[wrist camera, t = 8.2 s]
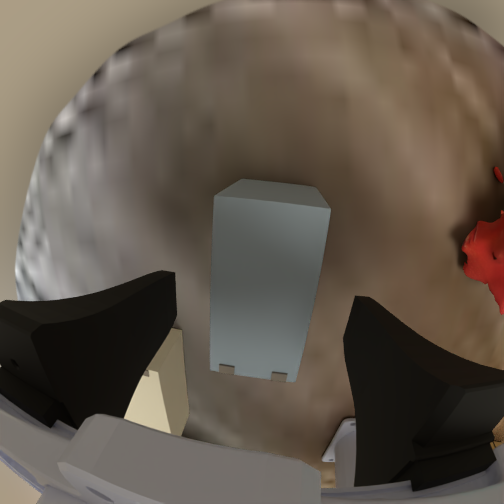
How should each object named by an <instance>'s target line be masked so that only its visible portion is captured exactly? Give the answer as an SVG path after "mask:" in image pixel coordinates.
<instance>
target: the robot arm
mask: <svg viewBox="0 0 504 504" xmlns="http://www.w3.org/2000/svg"><path fill="white" fill-rule="evenodd" d="M176 316H177V305H176V281H175V272H169V271H163V270H161V271H157V272H153V273H150V274H147V275H145V276H142V277H139V278H137V279H134V280H132V281H129V282H126V283H124V284H121V285H118V286H115V287H112V288H109V289H106V290H103V291H100V292H96V293H92V294H88V295H84V296H79V297H73V298H67V299H60V300H50V301H12V300H5V301H2V302H0V365H1V367H0V460H1V461H2V462H3V463H4V464H5V465H7V466H8V467H9V468H10V469H11V470H12V471H13V472H15V473H16V474H17V475H18V476H19V477H21V478H22V479H23V480H24V481H26V482H27V483H28V484H29V485H31V486H32V487H33V488H35V489H36V490H37V491H39V492H40V493H41V494H42V495H41V497H40V498H39V500H38V502H37V503H36V504H504V443H503V444H501V445H499V446H497V447H496V448H494V449H492V447H491V444H490V443H491V442H493V440H494V438H495V437H494V435H493V432H492V430H493V429H494V428H495V426H496V425H497V424H498V423H499V422H500V420H501V419H502V418H503V417H504V370H500V369H496V368H492V367H488V366H484V365H480V364H478V363H475V362H472V361H469V360H466V359H464V358H461V357H459V356H457V355H455V354H453V353H450V352H448V351H446V350H444V349H442V348H440V347H439V346H437V345H435V344H433V343H432V342H430V341H428V340H427V339H425V338H423V337H422V336H420V335H419V334H417V333H416V332H415V331H413V330H412V329H411V328H409V327H408V326H406V325H405V324H404V323H403V322H401V321H400V320H399V319H397V318H396V317H395V316H394V315H393V314H391V313H390V312H389V311H388V310H386V309H385V308H384V307H383V306H381V305H380V304H379V303H378V302H376V301H375V300H374V299H372V298H370V297H365V296H355V298H354V302H353V305H352V309H351V313H350V316H349V320H348V323H347V326H346V330H345V333H344V336H343V343H344V356H345V362H346V367H347V372H348V376H349V381H350V386H351V390H352V395H353V400H354V407H355V418H347V419H345V420H343V421H342V423H341V425H340V427H339V428H338V430H337V432H336V434H335V436H334V438H333V439H332V441H331V443H330V445H329V446H328V448H327V450H326V451H325V453H324V455H323V457H322V461H324V462H335V478H336V488H321V472H320V471H318V470H316V469H315V468H313V467H311V466H310V465H308V464H306V463H304V462H303V461H301V460H299V459H297V458H292V457H287V456H282V455H277V454H273V453H268V452H260V451H253V450H245V449H239V448H233V447H227V446H222V445H217V444H212V443H207V442H202V441H198V440H194V439H189V438H185V437H181V436H178V435H174V434H170V433H167V432H163V431H160V430H157V429H153V428H150V427H147V426H144V425H141V424H138V423H135V422H132V421H129V420H127V419H124V417H125V414H126V412H127V409H128V407H129V404H130V402H131V399H132V397H133V395H134V392H135V390H136V388H137V386H138V384H139V381H140V379H141V377H142V376H143V374H144V372H145V370H146V369H147V367H148V366H149V364H150V362H151V361H152V359H153V358H154V356H155V355H156V353H157V352H158V350H159V348H160V347H161V345H162V344H163V342H164V341H165V339H166V337H167V336H168V334H169V332H170V330H171V328H172V326H173V324H174V321H175V319H176Z"/></svg>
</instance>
